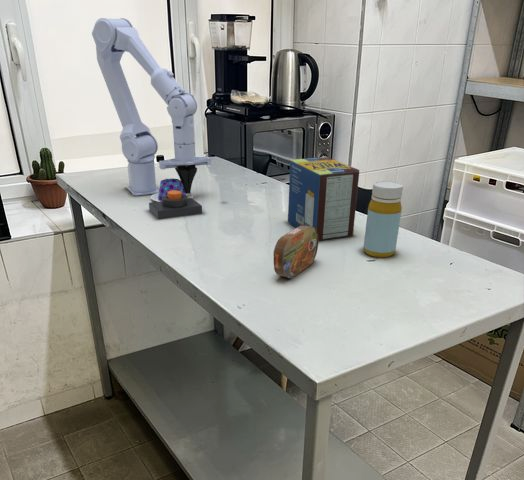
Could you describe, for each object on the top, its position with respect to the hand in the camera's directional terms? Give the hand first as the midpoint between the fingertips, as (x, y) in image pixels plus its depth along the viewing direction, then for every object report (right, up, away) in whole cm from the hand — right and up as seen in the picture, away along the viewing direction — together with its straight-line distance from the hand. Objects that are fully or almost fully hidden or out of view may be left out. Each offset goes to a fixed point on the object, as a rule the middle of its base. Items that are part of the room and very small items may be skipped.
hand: (187, 192), depth 154 cm
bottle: (+48, -23, -34) cm, 63 cm away
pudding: (-4, -2, -1) cm, 5 cm away
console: (-1, -9, -11) cm, 14 cm away
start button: (-1, -5, -13) cm, 14 cm away
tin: (+28, -29, -43) cm, 59 cm away
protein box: (+36, -15, -21) cm, 44 cm away
